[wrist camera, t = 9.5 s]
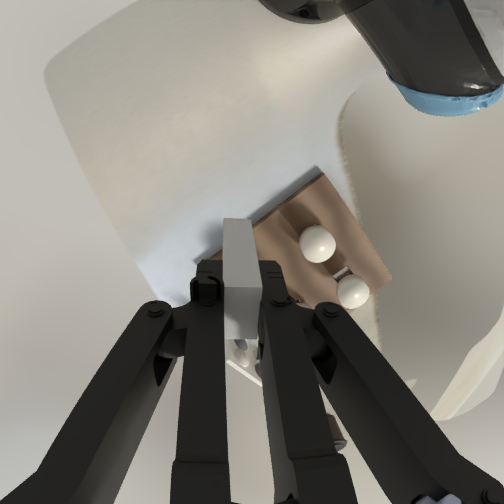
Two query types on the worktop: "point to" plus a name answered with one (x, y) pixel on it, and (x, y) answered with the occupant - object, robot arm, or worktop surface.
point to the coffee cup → (336, 433)
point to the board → (291, 256)
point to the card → (243, 358)
